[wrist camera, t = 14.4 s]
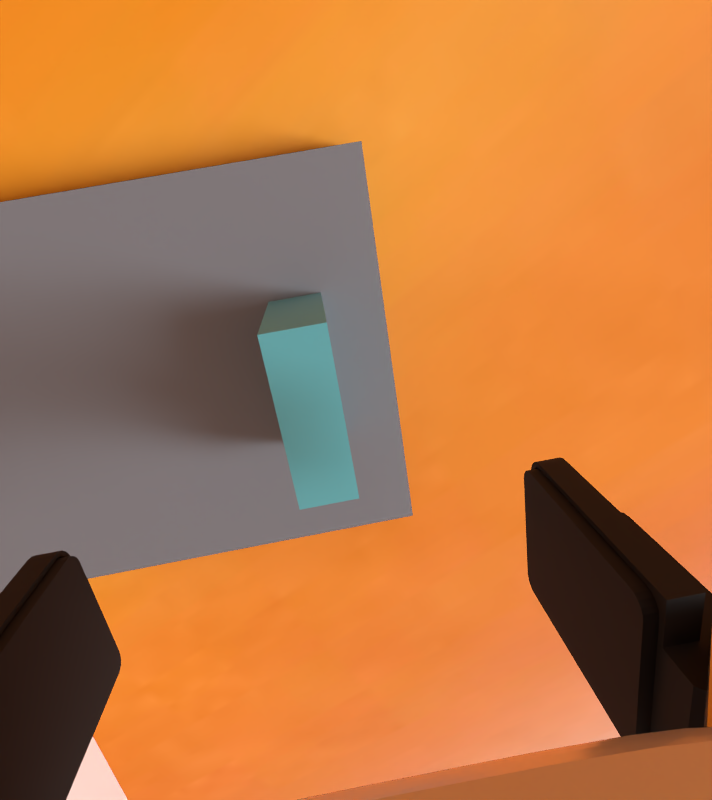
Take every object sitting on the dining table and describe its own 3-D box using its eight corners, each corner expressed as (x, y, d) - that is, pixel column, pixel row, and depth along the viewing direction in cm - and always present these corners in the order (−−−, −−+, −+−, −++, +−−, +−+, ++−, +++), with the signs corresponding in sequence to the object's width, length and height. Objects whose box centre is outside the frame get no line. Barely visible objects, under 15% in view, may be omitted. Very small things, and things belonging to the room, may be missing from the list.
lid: (404, 492, 25) (440, 594, 18) (11, 568, 24) (-97, 702, 18) (355, 147, 19) (382, 118, 12) (-170, 236, 18) (-433, 255, 12)
